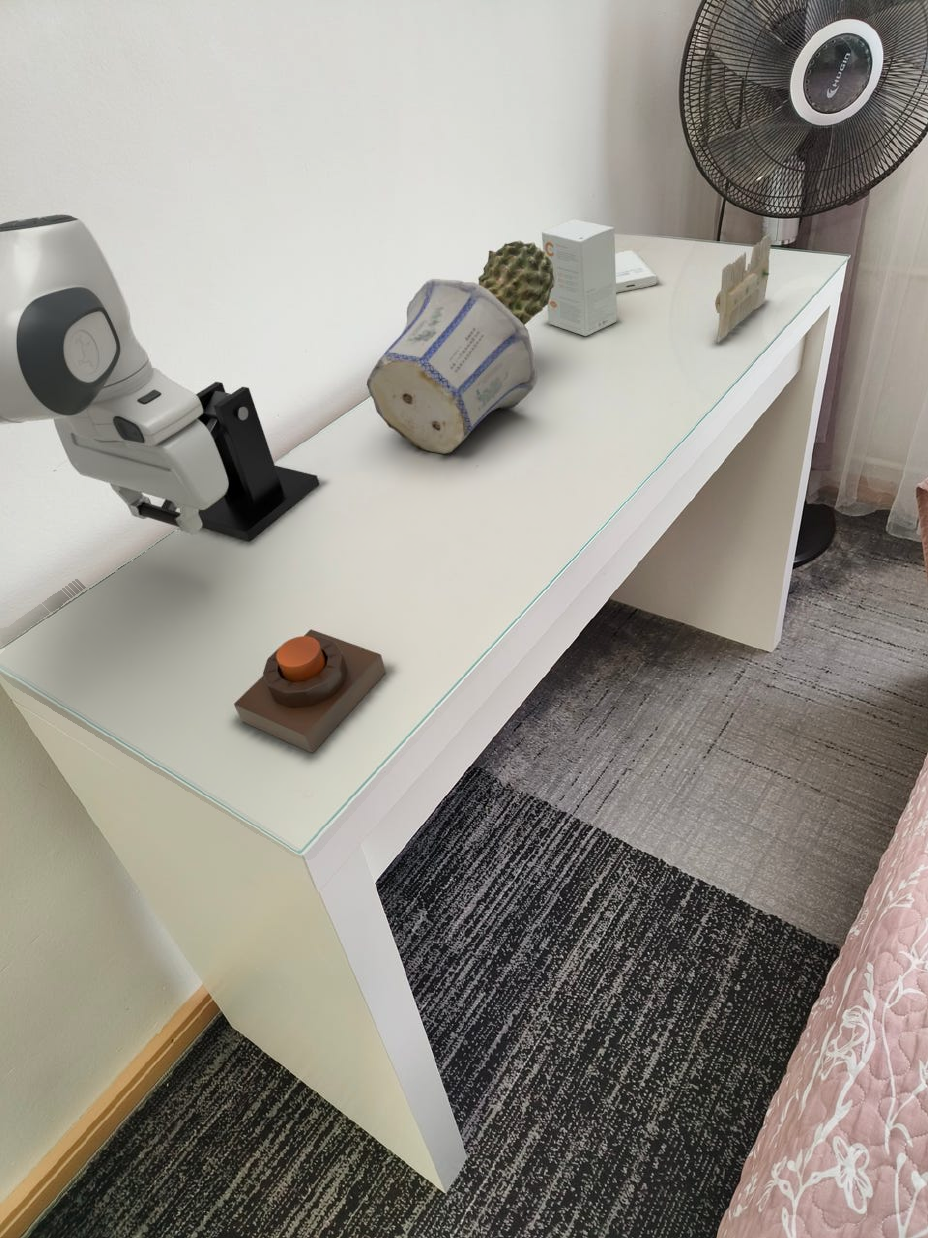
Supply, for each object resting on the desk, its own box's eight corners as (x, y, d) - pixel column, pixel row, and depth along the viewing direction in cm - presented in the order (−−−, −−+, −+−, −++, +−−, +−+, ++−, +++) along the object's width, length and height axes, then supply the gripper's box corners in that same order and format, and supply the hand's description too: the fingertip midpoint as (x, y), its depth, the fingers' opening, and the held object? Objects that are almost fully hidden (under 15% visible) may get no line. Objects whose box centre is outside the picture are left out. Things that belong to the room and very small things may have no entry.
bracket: (249, 541, 92) (206, 427, 83) (193, 524, 96) (146, 414, 87) (319, 484, 99) (286, 373, 90) (264, 470, 103) (227, 363, 94)
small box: (618, 322, 121) (615, 226, 113) (585, 337, 119) (580, 241, 110) (579, 309, 126) (574, 217, 118) (547, 324, 124) (540, 231, 116)
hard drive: (633, 259, 139) (657, 284, 129) (584, 269, 139) (604, 295, 129) (633, 249, 138) (657, 274, 128) (584, 258, 137) (604, 284, 128)
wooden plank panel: (754, 301, 120) (760, 227, 113) (771, 303, 119) (778, 228, 112) (710, 344, 112) (714, 267, 105) (727, 347, 110) (733, 269, 104)
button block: (312, 754, 67) (299, 720, 65) (241, 721, 71) (226, 688, 69) (386, 672, 73) (376, 638, 71) (316, 646, 77) (305, 613, 75)
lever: (188, 533, 86) (173, 522, 84) (150, 520, 89) (134, 510, 87) (256, 408, 90) (242, 395, 88) (216, 401, 92) (202, 387, 90)
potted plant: (457, 360, 85) (585, 190, 97) (326, 347, 94) (458, 194, 106) (505, 484, 98) (612, 321, 110) (385, 462, 107) (497, 314, 120)
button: (306, 687, 68) (300, 671, 67) (273, 674, 70) (267, 658, 69) (333, 658, 70) (328, 643, 69) (301, 646, 72) (296, 631, 71)
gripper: (19, 399, 82) (81, 518, 91) (159, 433, 72) (213, 562, 81) (71, 371, 85) (126, 487, 94) (212, 398, 75) (258, 525, 84)
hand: (168, 522), depth 87 cm, fingers closed on lever, 6 cm apart
